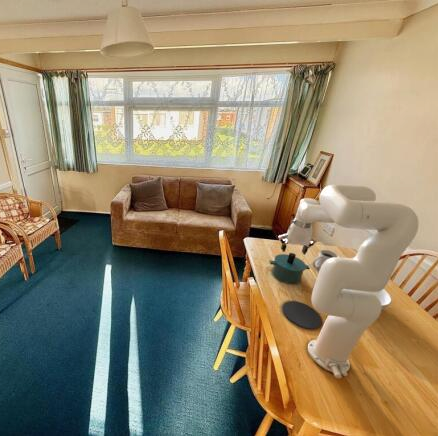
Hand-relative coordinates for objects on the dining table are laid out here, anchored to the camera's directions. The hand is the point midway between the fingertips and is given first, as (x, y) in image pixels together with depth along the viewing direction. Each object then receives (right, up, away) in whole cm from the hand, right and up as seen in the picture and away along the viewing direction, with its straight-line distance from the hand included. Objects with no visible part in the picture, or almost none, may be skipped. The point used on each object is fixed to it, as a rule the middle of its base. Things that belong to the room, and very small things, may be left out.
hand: (293, 251), depth 120 cm
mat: (-8, -26, -18) cm, 32 cm away
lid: (0, -6, +3) cm, 7 cm away
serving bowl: (+24, -22, -9) cm, 34 cm away
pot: (0, -14, +7) cm, 16 cm away
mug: (+24, -11, +12) cm, 30 cm away
